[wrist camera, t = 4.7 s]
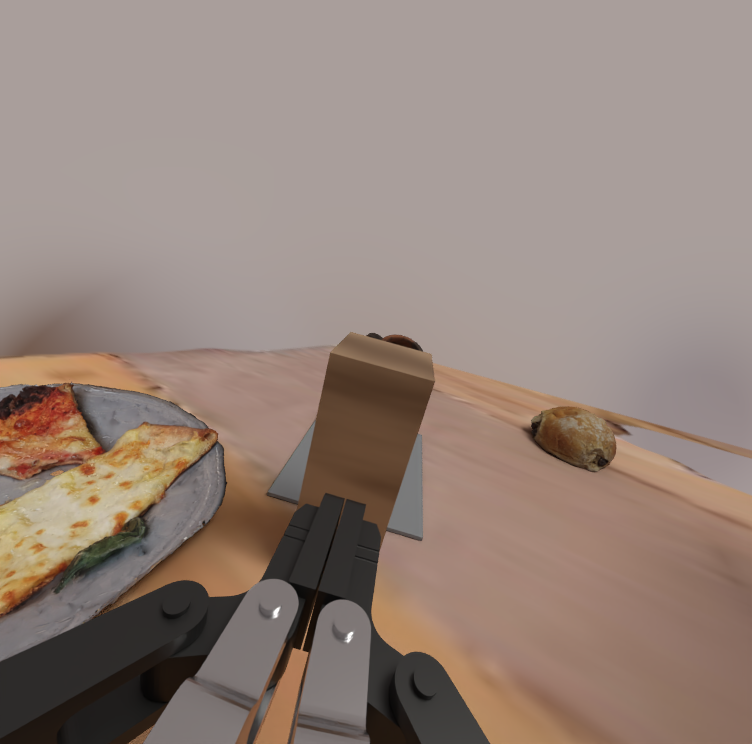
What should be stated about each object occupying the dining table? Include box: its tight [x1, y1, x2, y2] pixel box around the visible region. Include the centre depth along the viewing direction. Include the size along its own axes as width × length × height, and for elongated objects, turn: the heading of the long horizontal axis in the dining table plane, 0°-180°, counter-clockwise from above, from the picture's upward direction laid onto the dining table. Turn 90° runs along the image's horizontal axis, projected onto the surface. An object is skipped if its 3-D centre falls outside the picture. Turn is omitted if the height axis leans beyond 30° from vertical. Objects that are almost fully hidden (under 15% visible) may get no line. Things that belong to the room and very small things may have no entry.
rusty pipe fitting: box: [366, 333, 423, 352], centre depth 58 cm, size 12×10×8 cm
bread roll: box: [531, 407, 616, 472], centre depth 47 cm, size 10×10×8 cm
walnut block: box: [297, 332, 435, 551], centre depth 21 cm, size 5×5×14 cm
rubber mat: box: [267, 420, 423, 541], centre depth 33 cm, size 16×12×1 cm
